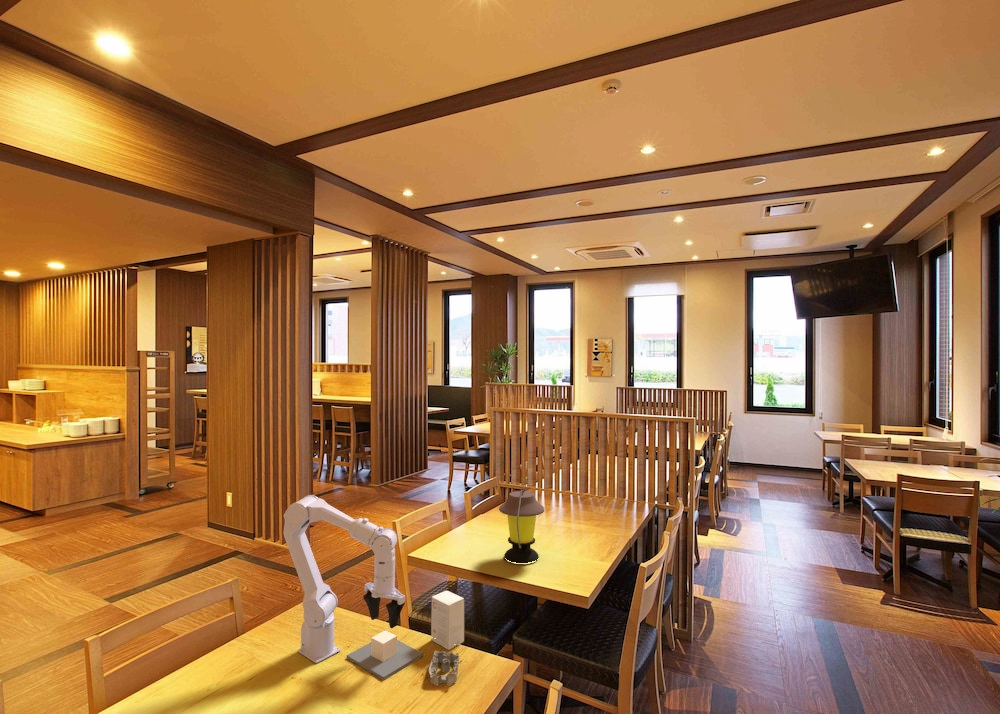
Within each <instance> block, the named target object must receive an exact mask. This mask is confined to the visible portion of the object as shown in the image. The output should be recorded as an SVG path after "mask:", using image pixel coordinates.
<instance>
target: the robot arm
mask: <svg viewBox="0 0 1000 714" xmlns="http://www.w3.org/2000/svg"><path fill="white" fill-rule="evenodd" d="M283 519H284V525H283V538H284V541H285V542H286V545H287V548H288V551H289V554H290V557H291V560H292V562H293V565H294V568H295V570H296V573H297V575H298V579H299V581H300V583H301V587H302V590H303V593H304V595H303V599H302V604H301V605H302V607H303V622H302V625H301V628H300V648H299V649H298V650H297V652H298V653H299V654H301V655H302V656H304V657H305V658H307V659H308V660H310V661H312V662H313V663H314V664H318V663H320V662H322V661H323V660H325V659H328V658H330V657H331V656H333V655H336V654H337V652H338V653H339V652H341V648H340V647H337V646H336V645H335V615H334V612H335V610H336V608H337V607H338V604H339V602H338V601H339V600H338V596H337V595H336V594H335V593H334V592H333V591H332V589H331V586H330V585H329V584H327V583H324V580H323V577H322V575H321V573H320V570H319V567H318V563H317V562H316V559H315V557H314V553H313V551H312V548H311V544H310V542H309V539H308V537H307V535H306V530H307V529H308V527H309V525H310V524H311V523H315V522H319V521H324V522H327V523H329V524H332V525H333V526H336V527H339V528H341V529H343V530H346V531H348V534H349V536H350V538H352V539H354V540H356V541H358V542H360V543H362V544H364V545H365V546H368V547H370V548H371V550H372V552H373V554H374V560H373V562H374V565H373V567H374V568H373V571H374V572H373V582H367V583H365V584H364V588H363V589H364V592H366V594H364V595H363V597H362V598H363V600H364V601H365V603H366V605H367V607H368V610H369V615H370V620H371V621H374V620H376V619H378V618H379V615H380V604H381V599H388V600H390V602H389V603H386V604H385V607H386V609H387V613H388V625H389V628H390V629H393V628H395V627H397V626H398V622H399V618H400V614H401V612H402V610H403V608H404V606H405V604H406V602H407V601H406V595H405V594H403V593H401V592H400V590H398V589H397V588H396V587H395V584H396V583H395V582H396V581H395V579H396V577H395V576H396V574H395V573H396V556H395V555H396V548H395V546H396V545H397V543H398V534H397V532H396V531H395V530H393V528H390V527H385V528H384V527H383V526H378V525H377V524H374V523H373V522H370V521H369V518H367V517H364V518H363V517H360V518H357V519H354V518H353V517H351V516H349V515H347V514H345V513H344V512H343V511H341V510H339V509H337V508H335V507H334V506H332V505H331V504H330V503H327V502H326V500H325V499H323V498H321V497H318V496H316V495H315V494H308V495H306V496H304V497H302V498H301V499H299V500H298V501H295V502H293V503H291V504H290V505H289V506H288V508H287V509H286V510H285V512H284V514H283Z"/></svg>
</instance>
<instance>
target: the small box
mask: <svg viewBox="0 0 1000 714" xmlns="http://www.w3.org/2000/svg"><path fill="white" fill-rule="evenodd" d="M430 617H431V620H430V621H431V623H430V624H431V625H430V627H431V628H430V634H431V636H430V639H431V641H433V642H434V643H436V644H437V645H439V646H441V647H442V648H445V649H446V650H447V651H449V650H452V649H453V648H455V647H456V646H455V645H454V644H456V645H457V646H459V645H461V644H462V643H464V642H465V598H464V597H462V596H460V595H458V594H456V593H453V592H451V591H449V590H445V591H442V592H440V593H437V594H435V595H432V596H431V616H430ZM431 637H433V638H431ZM434 638H436V639H434ZM454 646H455V647H454Z"/></svg>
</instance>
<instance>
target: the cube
mask: <svg viewBox="0 0 1000 714" xmlns="http://www.w3.org/2000/svg"><path fill="white" fill-rule="evenodd" d="M397 640H398V635H396V634H393V633H392V632H389V631H387V630H383V631H381V632H379V633H378V634H375V635H374V636H372V637H371V639H370V641H371V642H370V643H371V656H373V657H374V658H376V659H378V660H380V661H382V662H384V661H386V660H387V659H389V658H391V657H392V656H394V655H396V654H397Z"/></svg>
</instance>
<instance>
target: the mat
mask: <svg viewBox="0 0 1000 714" xmlns="http://www.w3.org/2000/svg"><path fill="white" fill-rule="evenodd" d="M422 657H424V653H423V652H422V651H419V650H417V649H415V648H414V647H412V646H410V645H408V644H406V643H404V642H401V641H400V640H398V639H397V654H396V655H394V656H392V657H391V658H389V659H387V660H386V661H384V662H382V661H380V660H378V659H376V658H374V657H373V656H371V642H369V643H368V644H364V645H363V646H361V647H360V648H357V649H356V650H354V651H352V652H349V653H348V654H347V655H346V659H347V658H348V659H347V660H349V661H351V662H352V663H354V664H355V665H357V666H359V667H360V668H362V669H364V670H366V671H367V672H369V673H371V674H372V675H374V676H376V677H378V678H379V679H380V680H383V681H385V680H387V679H388V678H390V677H392V676H393V675H395V674H397V673H398V672H400V671H401V670H403V669H405V668H407V667H408V666H410V665H411V664H413V663H414V662H416V661H417V660H419V659H421V658H422Z"/></svg>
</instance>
